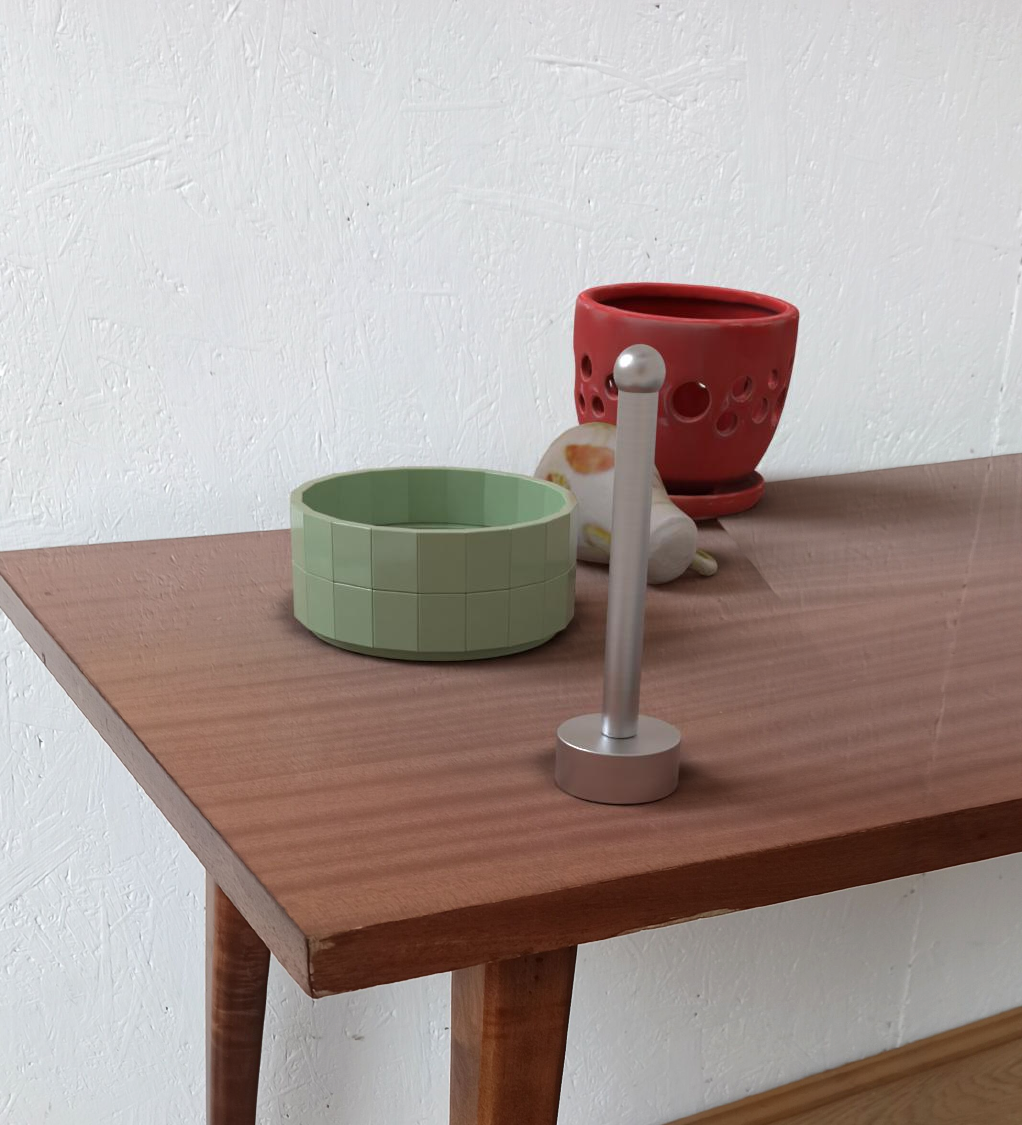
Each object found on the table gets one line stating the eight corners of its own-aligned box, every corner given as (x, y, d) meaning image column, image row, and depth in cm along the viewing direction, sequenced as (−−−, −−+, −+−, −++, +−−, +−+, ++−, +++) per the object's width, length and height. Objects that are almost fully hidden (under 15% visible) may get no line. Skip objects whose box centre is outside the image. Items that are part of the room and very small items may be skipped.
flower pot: (537, 520, 105) (544, 301, 99) (603, 476, 116) (613, 275, 109) (752, 544, 101) (773, 317, 95) (799, 496, 112) (821, 290, 106)
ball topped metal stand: (666, 759, 71) (697, 334, 63) (687, 803, 67) (723, 356, 59) (549, 760, 71) (563, 333, 62) (562, 805, 67) (580, 355, 58)
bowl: (555, 584, 93) (559, 466, 90) (588, 664, 82) (594, 532, 78) (296, 585, 92) (291, 465, 89) (293, 666, 80) (287, 532, 77)
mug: (640, 607, 90) (562, 418, 88) (563, 642, 99) (491, 471, 97) (755, 554, 93) (682, 368, 90) (670, 593, 102) (602, 425, 99)
